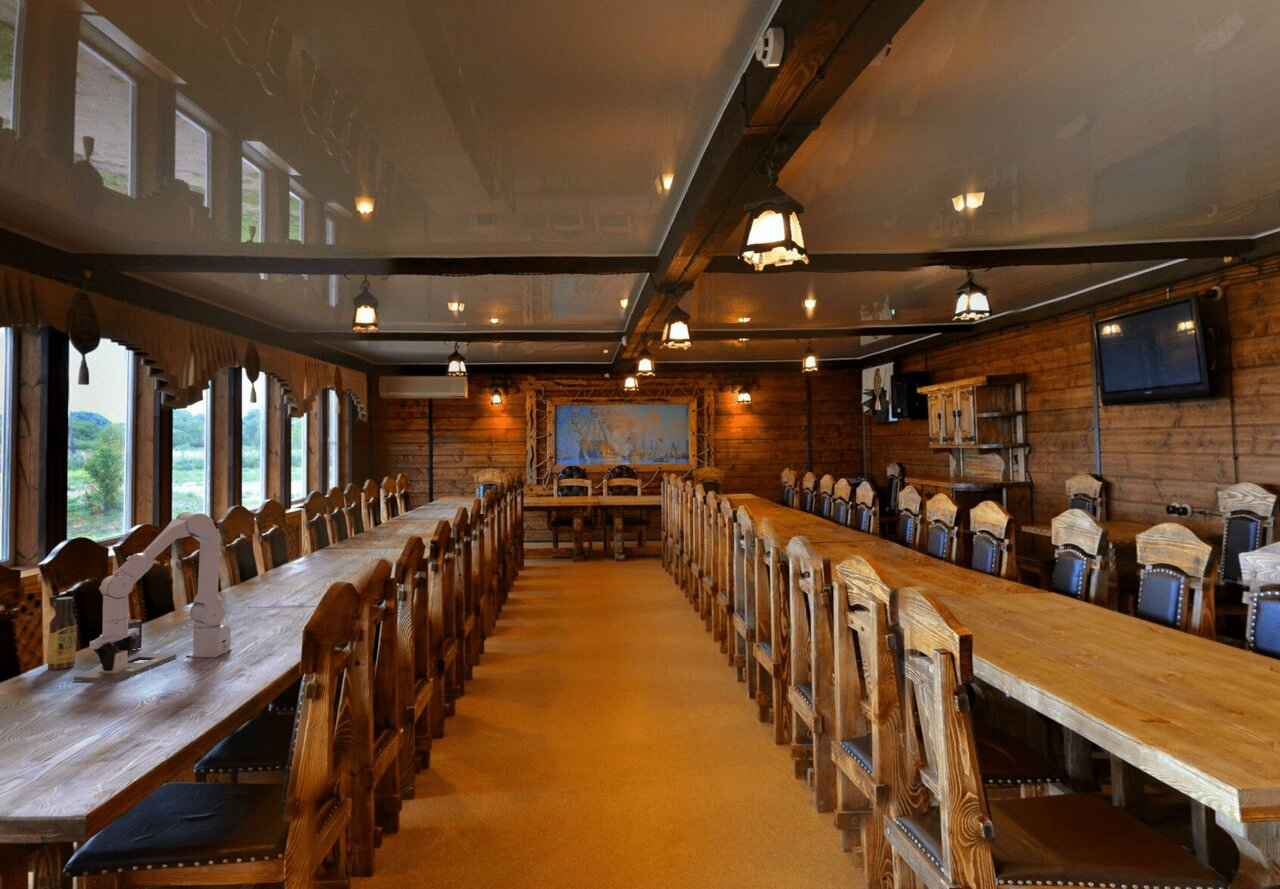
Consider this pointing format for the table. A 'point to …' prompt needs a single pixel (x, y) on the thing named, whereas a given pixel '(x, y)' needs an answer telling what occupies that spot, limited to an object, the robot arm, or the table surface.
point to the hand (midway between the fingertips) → (114, 667)
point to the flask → (139, 637)
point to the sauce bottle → (62, 636)
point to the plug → (119, 661)
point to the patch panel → (131, 668)
